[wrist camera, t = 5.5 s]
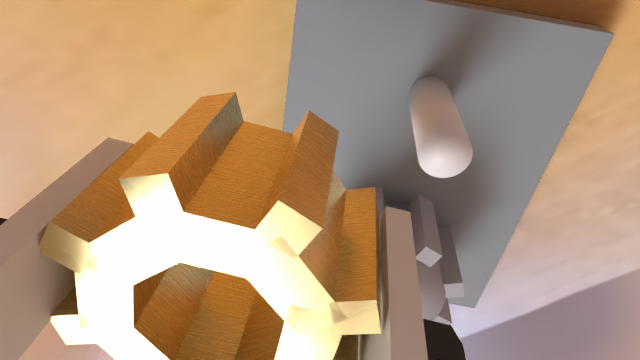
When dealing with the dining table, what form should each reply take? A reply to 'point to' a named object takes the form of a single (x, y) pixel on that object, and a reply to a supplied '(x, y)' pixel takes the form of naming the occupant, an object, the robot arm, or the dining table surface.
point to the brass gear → (221, 246)
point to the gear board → (486, 94)
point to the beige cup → (60, 348)
